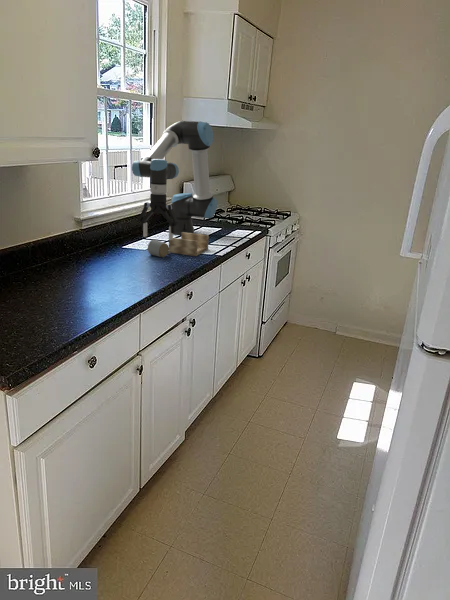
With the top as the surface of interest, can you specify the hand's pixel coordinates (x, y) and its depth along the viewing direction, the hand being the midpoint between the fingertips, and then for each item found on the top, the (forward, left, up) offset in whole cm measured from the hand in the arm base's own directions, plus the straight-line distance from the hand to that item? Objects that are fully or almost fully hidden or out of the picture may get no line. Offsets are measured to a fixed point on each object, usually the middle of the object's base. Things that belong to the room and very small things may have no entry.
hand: (157, 238), depth 234 cm
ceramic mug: (0, +2, -9) cm, 9 cm away
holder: (+9, +17, -9) cm, 21 cm away
